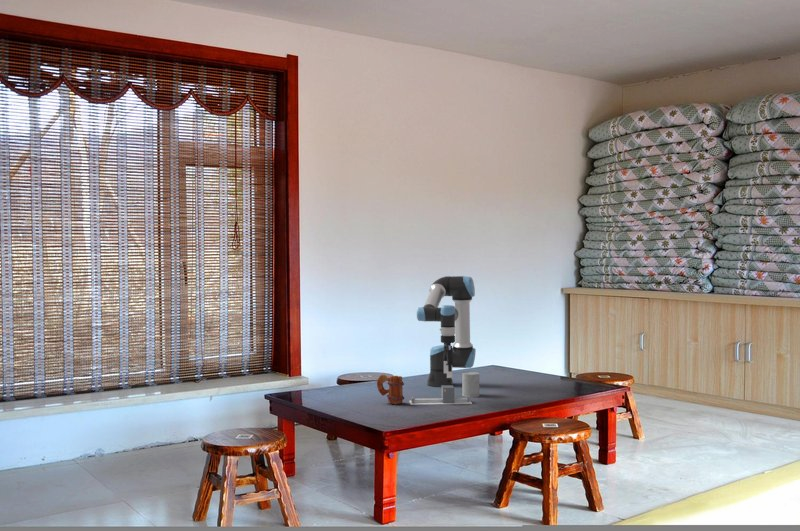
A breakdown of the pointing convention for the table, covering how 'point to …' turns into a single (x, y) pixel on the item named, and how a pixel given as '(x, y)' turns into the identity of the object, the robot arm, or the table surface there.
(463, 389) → the light grey cylinder
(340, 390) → the table surface
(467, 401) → the rail panel
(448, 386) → the block
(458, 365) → the robot arm
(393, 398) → the mug
